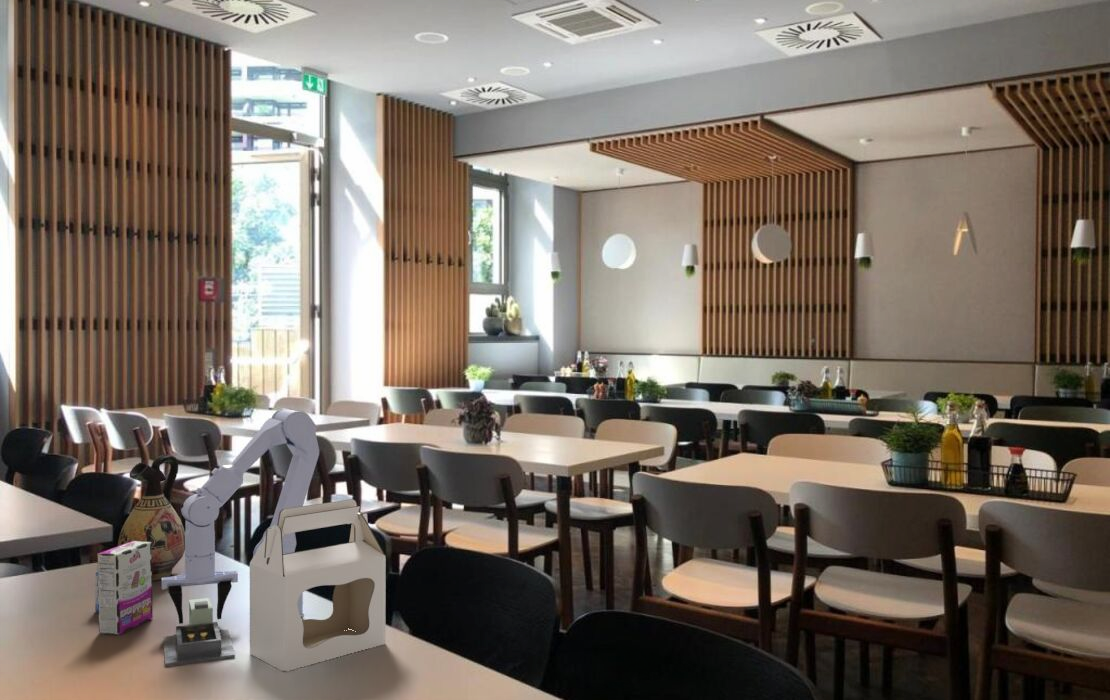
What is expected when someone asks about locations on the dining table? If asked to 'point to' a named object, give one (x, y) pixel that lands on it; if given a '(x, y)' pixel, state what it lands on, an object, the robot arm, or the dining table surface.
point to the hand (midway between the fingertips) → (200, 620)
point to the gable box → (289, 575)
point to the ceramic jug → (156, 517)
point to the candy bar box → (124, 587)
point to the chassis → (197, 644)
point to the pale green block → (200, 611)
